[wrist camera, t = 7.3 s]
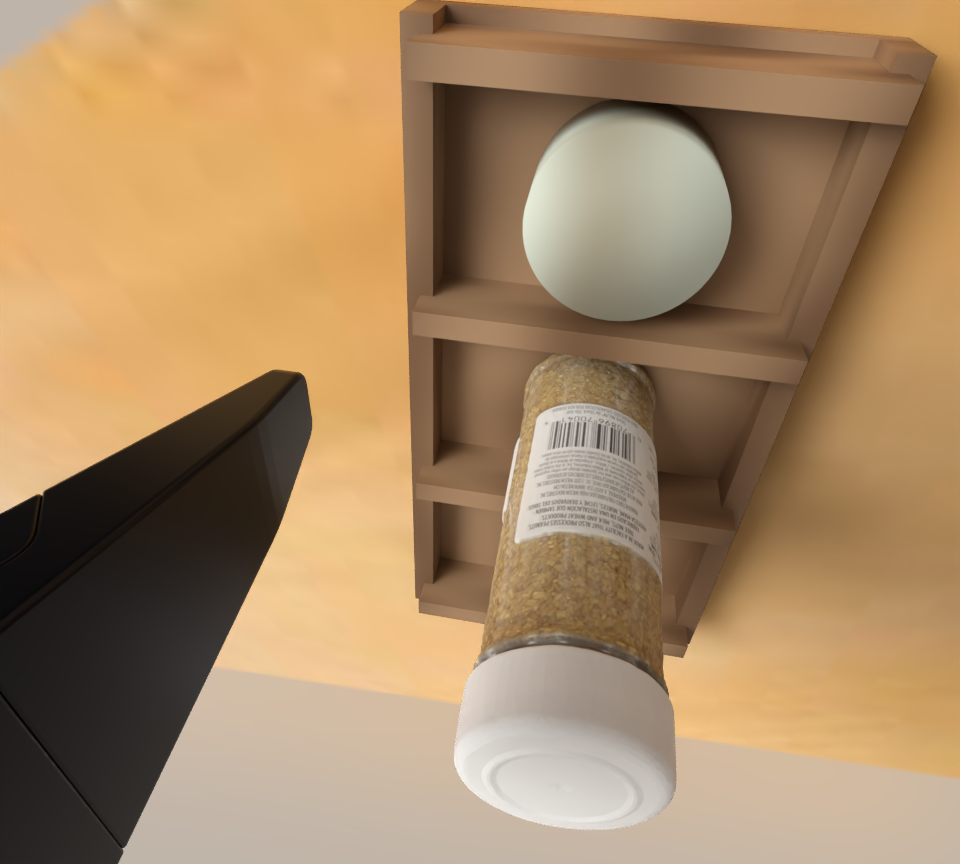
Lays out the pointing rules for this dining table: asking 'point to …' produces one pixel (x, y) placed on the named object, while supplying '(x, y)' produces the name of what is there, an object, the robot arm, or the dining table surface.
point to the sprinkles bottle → (575, 613)
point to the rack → (625, 250)
